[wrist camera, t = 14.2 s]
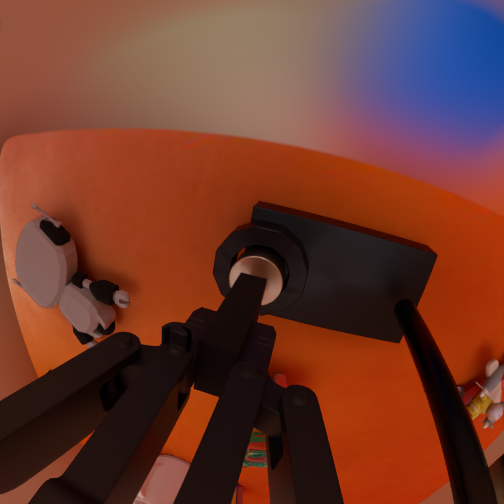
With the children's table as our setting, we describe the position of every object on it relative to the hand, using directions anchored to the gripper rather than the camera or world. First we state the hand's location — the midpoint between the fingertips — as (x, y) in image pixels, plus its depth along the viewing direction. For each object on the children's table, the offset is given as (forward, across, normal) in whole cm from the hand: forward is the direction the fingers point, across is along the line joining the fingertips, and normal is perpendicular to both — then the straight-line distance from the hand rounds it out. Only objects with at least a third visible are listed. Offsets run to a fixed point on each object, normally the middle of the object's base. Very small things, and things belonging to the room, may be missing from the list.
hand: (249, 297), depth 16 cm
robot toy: (+8, -20, -8) cm, 23 cm away
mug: (+8, -7, -40) cm, 42 cm away
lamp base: (+7, +5, 0) cm, 9 cm away
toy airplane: (+8, +28, -8) cm, 30 cm away
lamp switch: (+4, 0, 0) cm, 4 cm away
